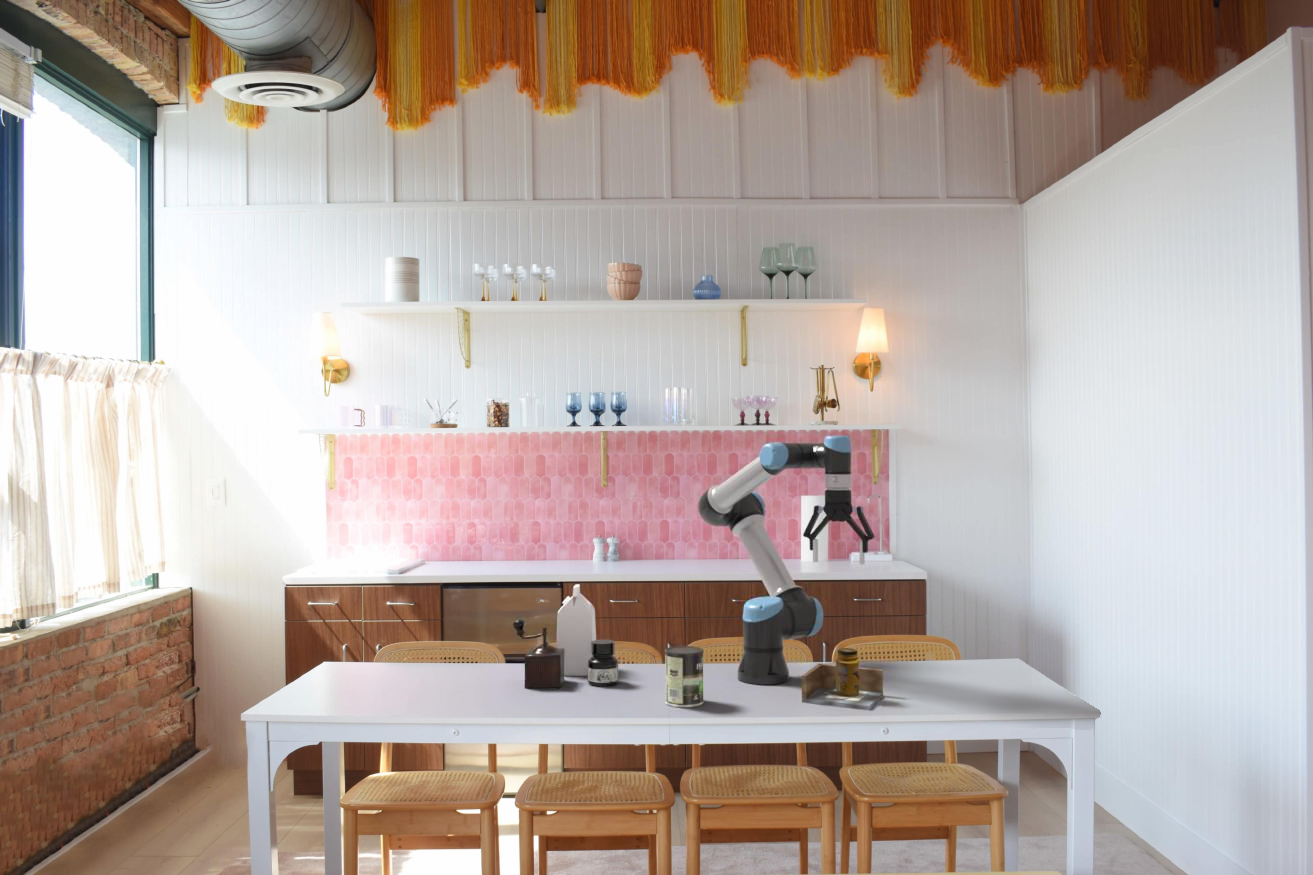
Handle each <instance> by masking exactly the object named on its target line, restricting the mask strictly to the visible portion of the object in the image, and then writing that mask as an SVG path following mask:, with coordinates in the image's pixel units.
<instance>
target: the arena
mask: <svg viewBox="0 0 1313 875" xmlns="http://www.w3.org/2000/svg"><path fill="white" fill-rule="evenodd" d="M831 691H836V664H828V663H827V664H826V663H817V664H816V665H815V666H813V667H812V668H810V669H809V670H807V671H806V672H804V673H803V674H802V675H801V703H807V704H815V705H822V706H823V705H824V706H833V707H840V708H850V709H857V710H865V711H870V710H871V709H872V708H873V707H874V706H875V705H876V704H877V703H878V702H879V700H881V699H882V697H884V670H883V669H877V668H867V667H859V692H858V693H861V694H865V695H864V696H859V697H852V698H846V699H840V698H837V697H833V696H830V695H828V694H826V693H824V692H831Z"/></svg>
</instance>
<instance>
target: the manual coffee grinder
mask: <svg viewBox="0 0 1313 875" xmlns="http://www.w3.org/2000/svg"><path fill="white" fill-rule="evenodd" d="M525 627H526V622H525V620H524V619H521V618H520V619H515V620H514V621H513V622H512V628H513V629H514V630H515V631H516V637H519V638H520V639H521V640H529V639H535V638H540V637H542V643H541V644H539V645H538V646H536V647H535V648H533V647H532V648H530V649H529V650H528V651H527V652H526V654H525V655H524V689H528V690H529V689H530V690H533V689H535V690H536V689H537V690H538V689H539V690H549V689H550V690H551V689H553V690H554V689H557V690H558V689H561V687H562V686H563V685H564V683H565V681H566V679H565V676H564V649H558V648H556V646H553V645H552V644H549V642H547V634H548V631H547V630H548V629H547V627H546V626H543V627H542V632H541V633H538V634H533V635H531V634H530V635H525V634H527V633H526V632H525ZM524 635H525V636H524Z"/></svg>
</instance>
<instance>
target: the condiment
mask: <svg viewBox="0 0 1313 875" xmlns="http://www.w3.org/2000/svg"><path fill="white" fill-rule="evenodd" d="M836 655H837V658H836V659H835V665H836V691H831V692H824V693H826V694H828V695H830V696H833V697H837V698H840V699H846V698H852V697H859V696H864V695H865V694H861V693H858V692H859V668H860V662H859V659H858V649H855V648H850V647H849V648H848V647H842V648H838V649H837V654H836Z"/></svg>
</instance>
